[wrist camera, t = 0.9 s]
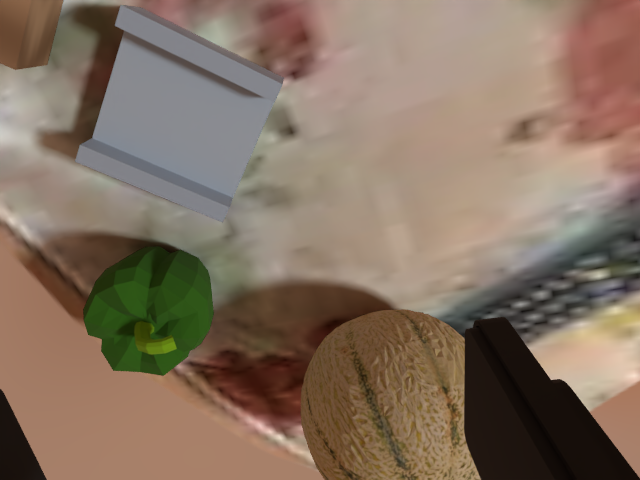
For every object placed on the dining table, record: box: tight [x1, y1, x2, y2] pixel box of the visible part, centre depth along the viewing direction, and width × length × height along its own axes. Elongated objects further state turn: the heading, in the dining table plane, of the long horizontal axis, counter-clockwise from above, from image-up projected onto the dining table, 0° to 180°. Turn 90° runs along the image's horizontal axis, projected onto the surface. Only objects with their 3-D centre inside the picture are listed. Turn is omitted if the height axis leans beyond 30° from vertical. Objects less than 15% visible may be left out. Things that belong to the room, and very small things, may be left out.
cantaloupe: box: [301, 309, 481, 480], centre depth 36 cm, size 15×15×15 cm
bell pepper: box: [83, 246, 214, 376], centre depth 34 cm, size 8×8×10 cm
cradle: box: [75, 5, 284, 222], centre depth 32 cm, size 10×10×4 cm
